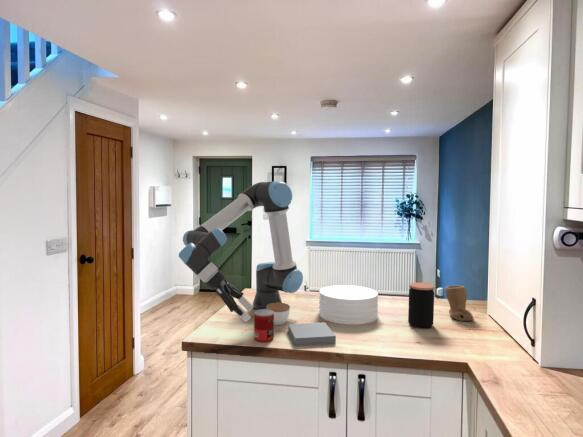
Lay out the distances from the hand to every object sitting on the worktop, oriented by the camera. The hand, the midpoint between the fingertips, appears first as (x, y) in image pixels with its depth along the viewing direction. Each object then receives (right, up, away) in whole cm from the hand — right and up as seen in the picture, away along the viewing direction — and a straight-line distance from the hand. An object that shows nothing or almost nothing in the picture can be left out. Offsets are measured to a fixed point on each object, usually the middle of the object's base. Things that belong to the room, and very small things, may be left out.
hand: (250, 314), depth 146 cm
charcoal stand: (+24, -10, +4) cm, 27 cm away
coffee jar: (+74, -10, +20) cm, 78 cm away
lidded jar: (+10, -9, +21) cm, 25 cm away
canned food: (+5, -10, +2) cm, 12 cm away
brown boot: (+97, -10, +32) cm, 102 cm away
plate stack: (+44, -9, +33) cm, 56 cm away
